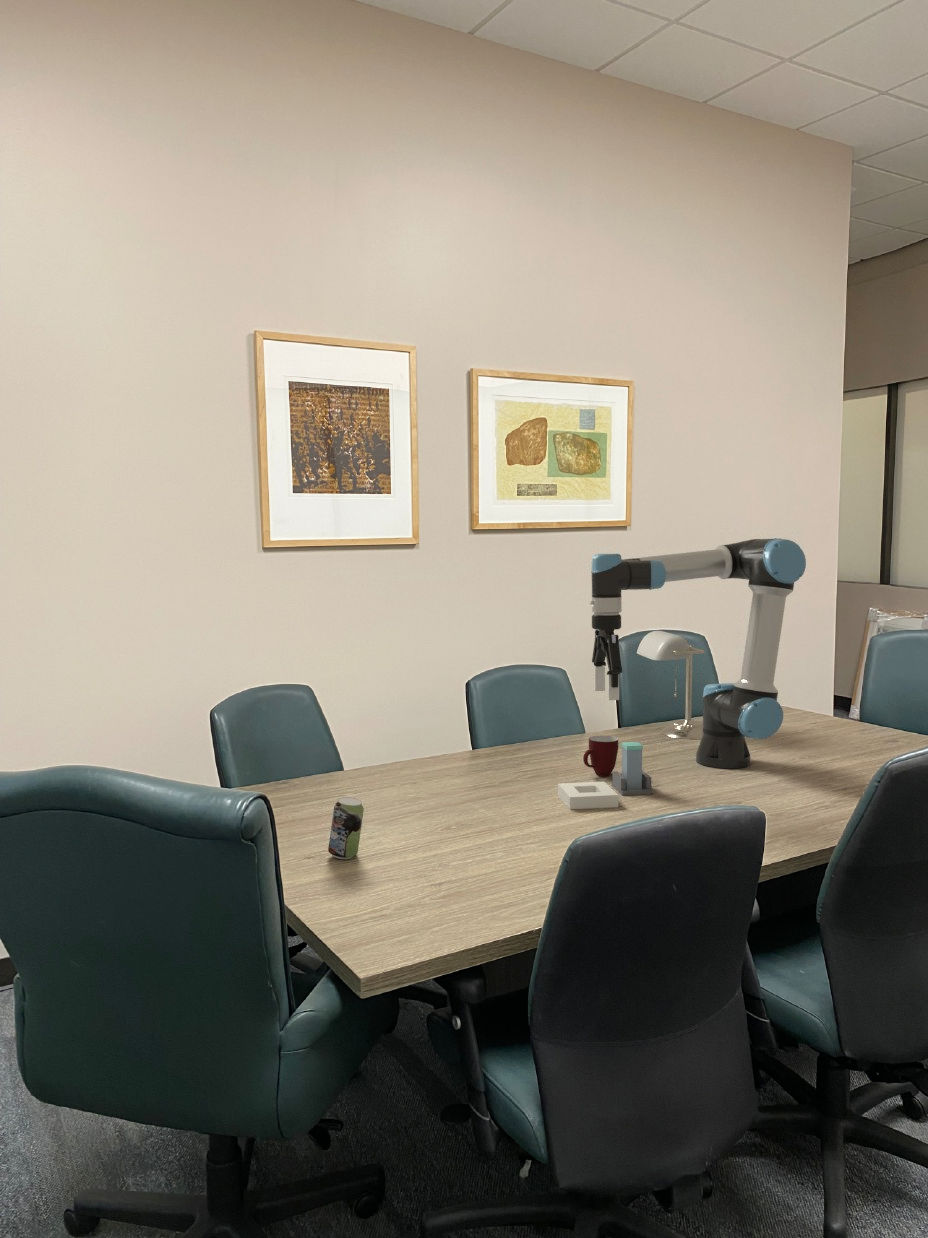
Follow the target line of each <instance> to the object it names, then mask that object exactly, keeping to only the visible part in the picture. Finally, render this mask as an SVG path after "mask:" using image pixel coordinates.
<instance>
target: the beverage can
mask: <svg viewBox="0 0 928 1238" xmlns="http://www.w3.org/2000/svg"><path fill="white" fill-rule="evenodd" d="M364 811H365V809H364V805H363V802H362V800H360V799H358V798H355V797H350V796H346V797H345V796H344V797H339V798H337V802H335V803H334V805H333V811H332V819H331V826H330V827H331V828H330V834H329V835H330V836H329V841H328V848H327V851H328V853H329V854H331V856H332V857H333V858H336V859H339V860H350V859H352V858H353V857H356V855H358V853H359V845H360V839H361V833H362V825H363V817H364Z"/></svg>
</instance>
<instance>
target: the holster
mask: <svg viewBox="0 0 928 1238" xmlns="http://www.w3.org/2000/svg"><path fill="white" fill-rule="evenodd" d="M610 784H611V785H610V786H611V787H613V788H614V789H615V790H616V791H617V792H618V793H619V794H620V795H621V796H637V795H640V796H641V795H653V794H654V792H653V791H654V790H653V789H652V776H650V775H649V774H648V773H646V772H645V771H644V770H643V769H642V789H641V790H625V789H626V778H624V777H623V776H622V773H620V772H618V771H614V770H613V771H612V781H611V783H610Z"/></svg>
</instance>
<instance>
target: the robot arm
mask: <svg viewBox="0 0 928 1238" xmlns="http://www.w3.org/2000/svg"><path fill="white" fill-rule="evenodd" d="M591 559H592V560H591V568H590V569H591V570H590V573H591V601H589V605H590V606H591V612H592V613H593V614H592V615H591V628H592V629H594V643H593V649H592V651H593V652H592V658H591V662H592V663H593V665H594V667H593V668H594V672H593V673H594V675H593V676H594V678H593V679H594V685H593V687H594V690H593V691H594V692H605V691H606V675H607V701H619V700H620V675H621V674H622V673H623V668H622V667H623V666H622V658H621V651H620V643H619V642H620V639H619V634H615V630H616V631H617V630H620V629H621V628H622V615H621V614H620V613H622V610H623V609H622V607H623V606H622V591H628V590H629V591H630V590H631V591H633V590H634V591H637V590H642V591H643V590H649V591H651V590H659V589H661V588H663V586H664V585H665V583H668V582H677V581H687V580H688V581H689V580H696V579H704V578H712V577H713V578H716V577H718V578H719V579H722V580H727V579H728V580H729V579H738V580H747V581H748V583H747V585H748V588H749V589H750V590H751V592H752V599H751V603H750V604H751V605H750V612H749V619H748V625H747V632H746V633H747V634H746V639H745V644H744V645H745V646H744V651H743V652H744V653H743V660H742V666H741V673H740V679H739V680H738V681H736V682H731V683H730V682H728V683H727V682H726V683H722V682H721V683H710V684H706V685H705V686H704V688H703V693H702V723H703V735H702V738H701V739H700V741H699V744H698V746H697V750H696V753H695V761H696V763H698V764H700V765H703V766H706V767H711V768H716V769H717V768H718V769H742V768H746V767H748V766H750V765H751V759H752V758H751V753H750V750H749V747H748V743H747V741H746V738H749V739H754V740H755V739H756V740H765V739H768V738H770V737H772V736H773V735H774V734H776V733H777V732H778V731H779V729H780V728H781V727H782V723H783V721H784V710H783V707H782V706H781V703H779V701H778V696H779V695H778V694H779V691H778V689H777V688H776V686H775V684H774V681H775V674H776V668H777V660H778V654H779V648H780V642H781V641H780V640H781V634H782V628H783V621H784V616H785V615H784V613H785V608H786V607H785V606H786V601H787V597H788V596H789V595H790V594H791V593H793V592H794V586H795V582H797V581H799V579H800V578H801V577H803V575H804V573H805V571H806V568H807V567H806V566H807V560H806V555H805V552H804V551H803V549H802V548H801V546H800V545H799V544H798V543H796V542H795V541H793V540H790V539H787V538H786V539H785V538H782V537H781V538H753V539H748V540H744V541H743V540H742V541H739V542H738V541H737V542H733V543H728V544H721V545H718V546H717V547H715V549H709V550H708V549H707V550H698V551H697V550H696V551H690V552H681V553H680V552H679V553H672V554H663V555H662V554H661V555H652V556H651V555H650V556H643V557H642V556H641V557H634V558H625V559H622V555H621V554H620V553H596V554H594V555H592V558H591ZM606 666H607V667H608V668H607V669H608V671H607V672H606Z"/></svg>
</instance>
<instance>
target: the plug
mask: <svg viewBox="0 0 928 1238" xmlns="http://www.w3.org/2000/svg"><path fill="white" fill-rule="evenodd" d="M643 749H644V745H643V744H641V743H640V742H638V741H626V742H625V741H623V742H621V775H622V776H623V777H624V778H626V789H625V790H641V789H642V770H643Z"/></svg>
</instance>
